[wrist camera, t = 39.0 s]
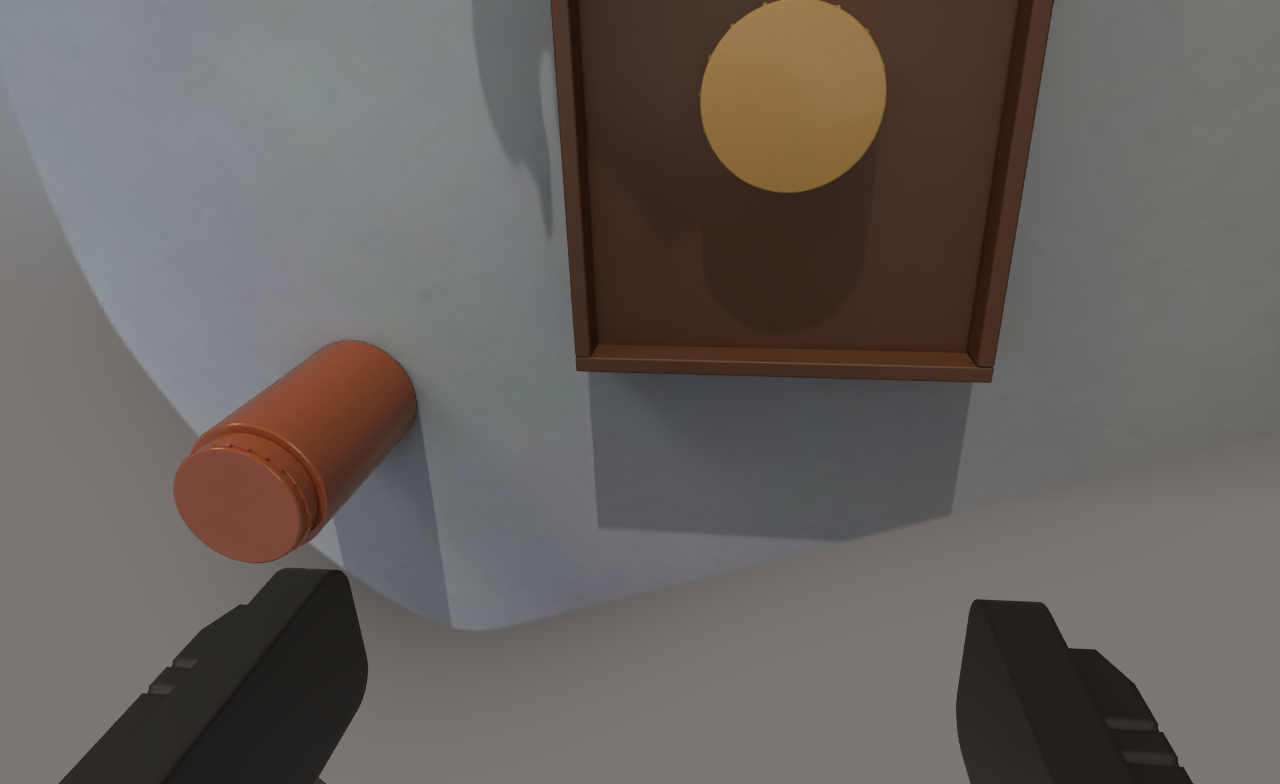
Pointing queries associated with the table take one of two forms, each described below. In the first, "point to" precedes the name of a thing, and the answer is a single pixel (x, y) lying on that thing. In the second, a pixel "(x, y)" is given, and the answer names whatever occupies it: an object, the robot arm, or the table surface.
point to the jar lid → (793, 95)
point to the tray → (794, 199)
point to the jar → (294, 452)
